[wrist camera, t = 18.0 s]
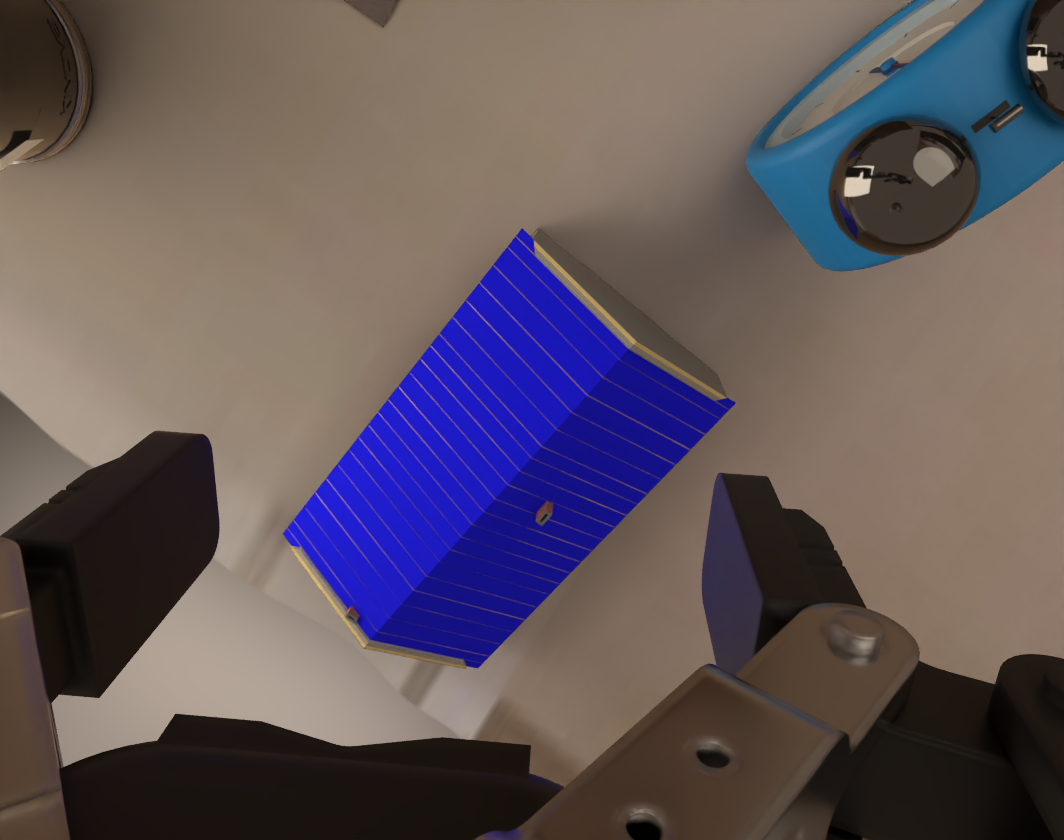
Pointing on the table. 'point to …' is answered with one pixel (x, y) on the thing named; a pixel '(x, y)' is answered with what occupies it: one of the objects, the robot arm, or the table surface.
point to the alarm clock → (918, 130)
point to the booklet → (374, 9)
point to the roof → (502, 459)
